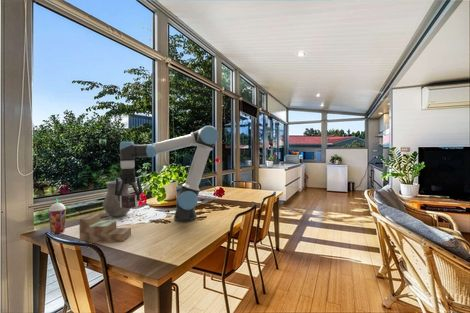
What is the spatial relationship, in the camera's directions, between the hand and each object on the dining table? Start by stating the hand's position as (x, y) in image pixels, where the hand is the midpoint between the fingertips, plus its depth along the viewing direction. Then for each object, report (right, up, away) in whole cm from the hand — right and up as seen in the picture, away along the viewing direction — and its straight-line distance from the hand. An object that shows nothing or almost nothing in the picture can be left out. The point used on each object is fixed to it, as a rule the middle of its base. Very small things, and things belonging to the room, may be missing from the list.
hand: (129, 206), depth 138 cm
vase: (-23, -14, +33) cm, 43 cm away
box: (0, -1, 0) cm, 1 cm away
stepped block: (-7, -15, -12) cm, 20 cm away
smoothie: (-41, -15, -1) cm, 44 cm away
